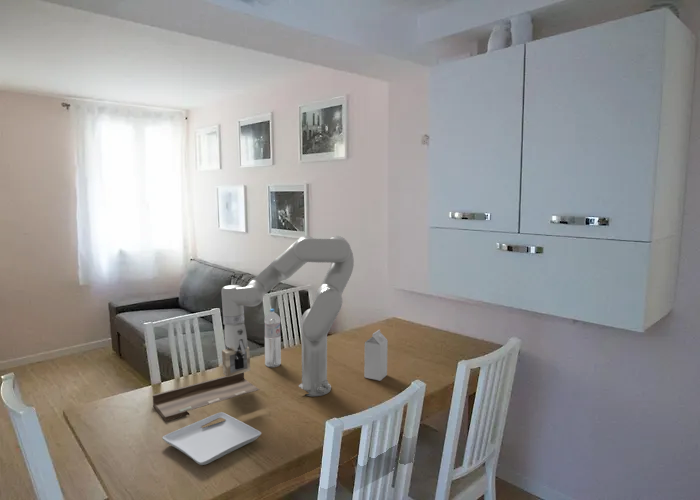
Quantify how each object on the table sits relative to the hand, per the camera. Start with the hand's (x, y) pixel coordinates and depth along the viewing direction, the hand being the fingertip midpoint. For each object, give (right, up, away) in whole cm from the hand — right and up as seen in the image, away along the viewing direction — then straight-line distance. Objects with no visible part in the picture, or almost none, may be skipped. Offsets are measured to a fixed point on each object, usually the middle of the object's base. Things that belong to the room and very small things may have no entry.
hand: (236, 366), depth 167 cm
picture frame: (0, -2, 0) cm, 2 cm away
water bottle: (+9, -7, +29) cm, 31 cm away
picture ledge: (-9, -11, -4) cm, 15 cm away
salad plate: (+1, -15, -33) cm, 36 cm away
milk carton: (+53, -9, +17) cm, 56 cm away
